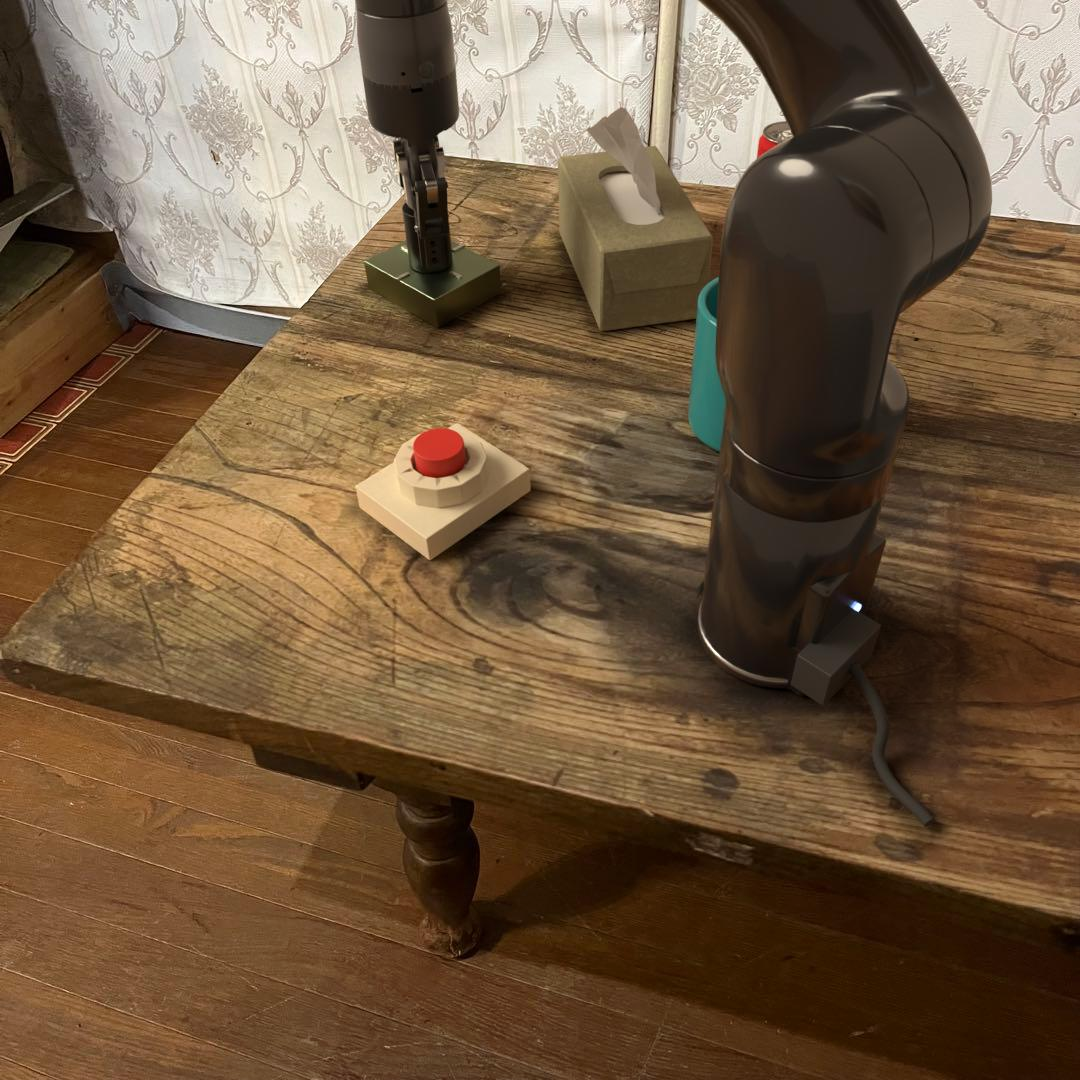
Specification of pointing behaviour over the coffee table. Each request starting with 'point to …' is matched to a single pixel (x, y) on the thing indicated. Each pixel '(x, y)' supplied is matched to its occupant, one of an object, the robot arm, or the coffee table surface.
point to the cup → (706, 373)
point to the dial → (414, 245)
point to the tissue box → (631, 230)
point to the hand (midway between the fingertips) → (429, 255)
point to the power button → (439, 453)
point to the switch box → (443, 494)
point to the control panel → (434, 283)
